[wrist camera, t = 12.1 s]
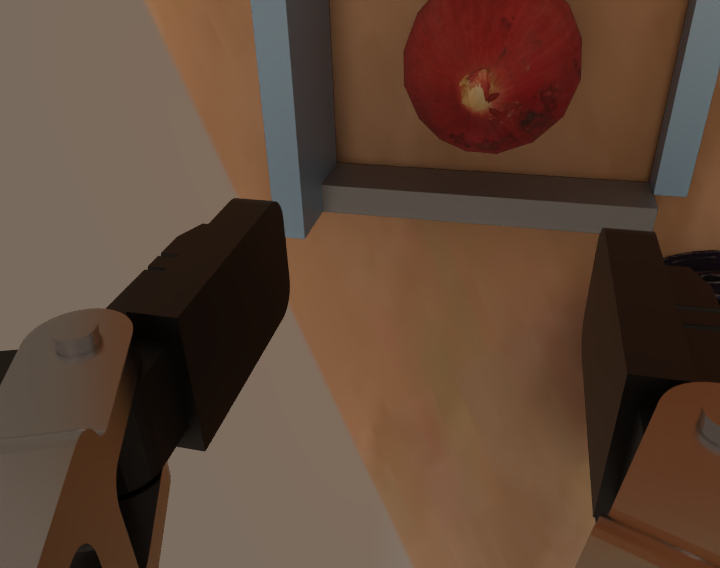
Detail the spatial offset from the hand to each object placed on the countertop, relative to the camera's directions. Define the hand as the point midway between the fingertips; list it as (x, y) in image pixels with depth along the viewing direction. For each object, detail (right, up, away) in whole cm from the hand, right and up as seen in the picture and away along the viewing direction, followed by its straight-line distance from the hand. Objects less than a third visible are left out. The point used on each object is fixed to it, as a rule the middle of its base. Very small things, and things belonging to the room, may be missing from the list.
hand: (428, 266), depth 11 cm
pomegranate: (+4, +9, +14) cm, 18 cm away
